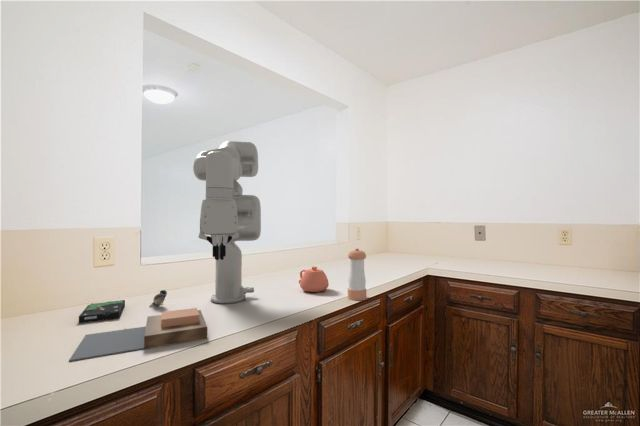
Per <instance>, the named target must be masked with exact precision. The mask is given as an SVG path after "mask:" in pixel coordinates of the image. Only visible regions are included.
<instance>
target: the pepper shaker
mask: <svg viewBox="0 0 640 426" xmlns="http://www.w3.org/2000/svg"><path fill="white" fill-rule="evenodd" d="M347 257H348V259H349V275H348V287H347V300H348V299H349V300H352V301H364V300H367V288H366V275H365V259H366V258H367V254H366V252H365V251H363V250H360V249H359V248H358V247H357V248H356V247H355V249H354V250H350V251H349V252H348V253H347Z"/></svg>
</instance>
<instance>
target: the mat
mask: <svg viewBox="0 0 640 426" xmlns="http://www.w3.org/2000/svg"><path fill="white" fill-rule="evenodd" d="M145 329H146V325H145V326H139V327H133V328H125V329H117V330H109V331H102V332H96V333H90V334H85V336H84V337H83V339H82V340H81V341H80V343H79V344H78V346H77V347H76V349H75V350H74V352H73V353H72V355H71V357H70V358H69V359H68V362H69V363H70V362H73V361H75V362H76V361H81V360H87V359H92V358H93V359H94V358H98V357H105V356H111V355H117V354H122V353H128V352H129V353H130V352H134V351H140V350H145V349H144V336H145Z"/></svg>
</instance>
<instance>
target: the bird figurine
mask: <svg viewBox="0 0 640 426" xmlns="http://www.w3.org/2000/svg"><path fill="white" fill-rule="evenodd" d="M167 294H168V291H167V290H165V289H163V290H160V291H159V293H157V294H155V296H154V297H153V301H152V303H150V304H149V305H148V307H149V308H158V307H159V306H163V305H165V304H164V302H165V300H166V296H167Z"/></svg>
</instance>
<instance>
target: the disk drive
mask: <svg viewBox="0 0 640 426" xmlns="http://www.w3.org/2000/svg"><path fill="white" fill-rule="evenodd" d="M125 306H126V300H125V299H123V300H121V299H120V300H113V301H105V302H97V303H90V304H88V305H87V306H86V307H85V308H84V309H83V311H82V312H81V313H80V314H79V316H78V324H85V323H94V322H102V321H111V320H116V319H117V320H119V319H120V318H121V317H122V314H123V312H124V309H125Z"/></svg>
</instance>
